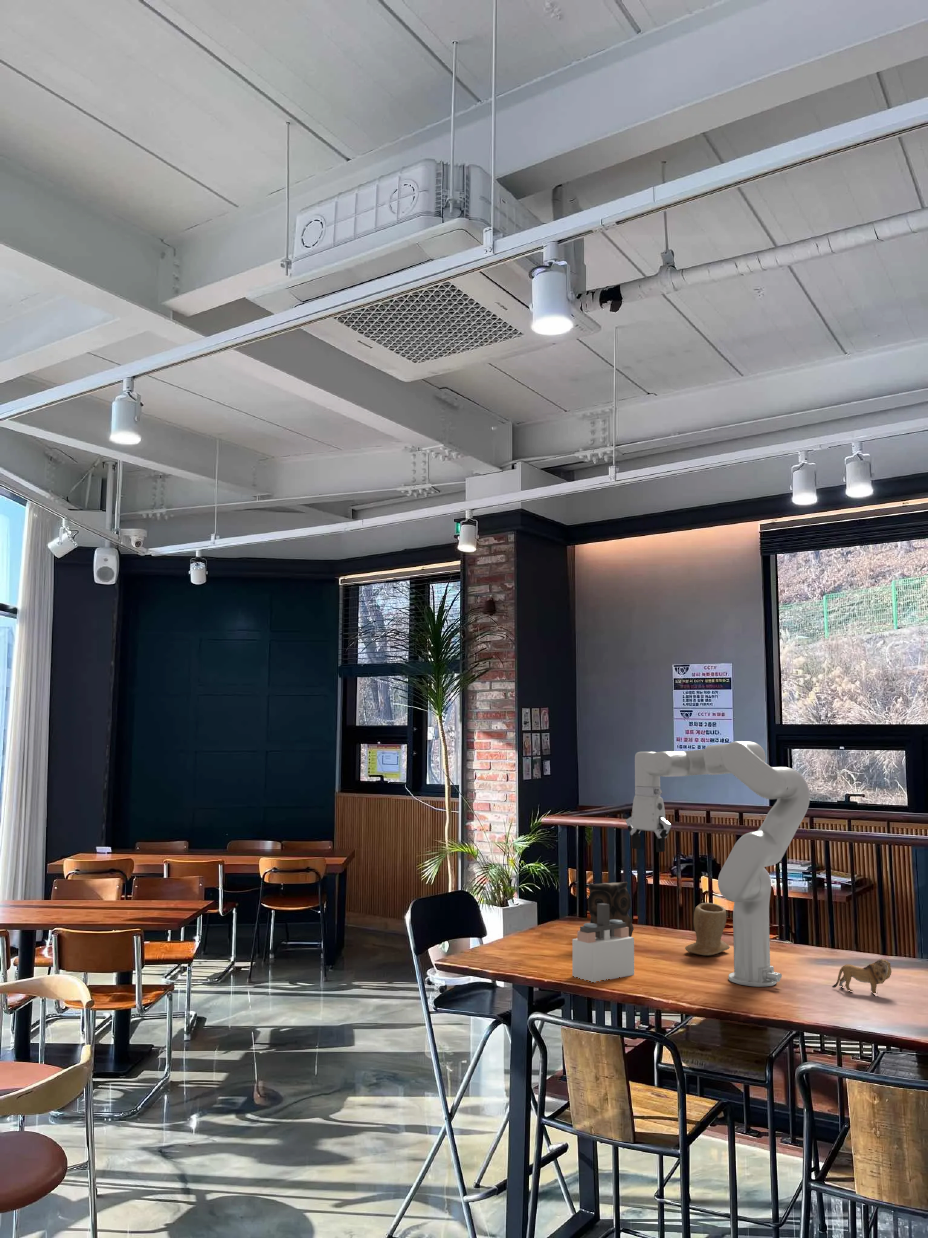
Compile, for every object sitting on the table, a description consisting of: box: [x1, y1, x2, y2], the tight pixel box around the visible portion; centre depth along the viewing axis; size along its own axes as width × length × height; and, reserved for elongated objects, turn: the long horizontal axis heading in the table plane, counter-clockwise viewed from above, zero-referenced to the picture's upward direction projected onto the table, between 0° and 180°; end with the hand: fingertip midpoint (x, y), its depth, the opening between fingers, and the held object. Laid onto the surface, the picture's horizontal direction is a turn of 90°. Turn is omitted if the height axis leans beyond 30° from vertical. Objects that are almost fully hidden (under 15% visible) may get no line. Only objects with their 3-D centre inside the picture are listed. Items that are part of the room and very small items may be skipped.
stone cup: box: [684, 902, 730, 956], centre depth 291 cm, size 15×12×15 cm
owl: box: [587, 881, 635, 937], centre depth 299 cm, size 13×13×20 cm
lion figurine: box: [831, 958, 892, 994], centre depth 247 cm, size 15×5×9 cm, turn 67°
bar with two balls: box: [579, 903, 626, 939], centre depth 262 cm, size 4×15×9 cm, turn 127°
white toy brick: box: [571, 927, 635, 983], centre depth 261 cm, size 8×16×12 cm, turn 126°
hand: (648, 850), depth 282 cm, fingers open, 9 cm apart
